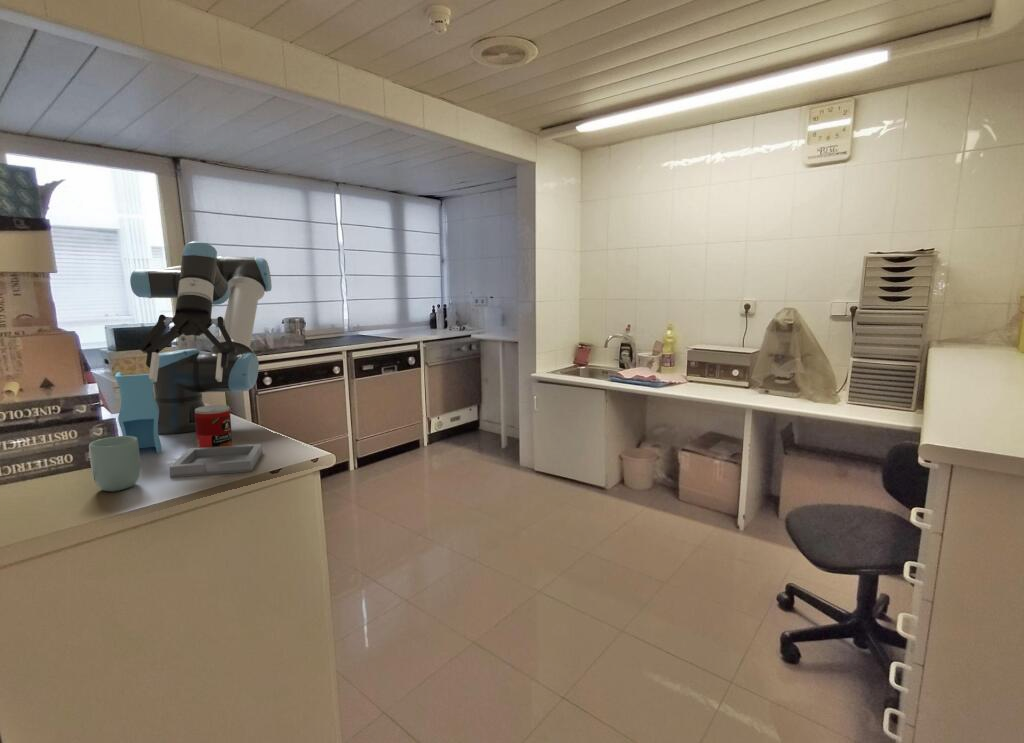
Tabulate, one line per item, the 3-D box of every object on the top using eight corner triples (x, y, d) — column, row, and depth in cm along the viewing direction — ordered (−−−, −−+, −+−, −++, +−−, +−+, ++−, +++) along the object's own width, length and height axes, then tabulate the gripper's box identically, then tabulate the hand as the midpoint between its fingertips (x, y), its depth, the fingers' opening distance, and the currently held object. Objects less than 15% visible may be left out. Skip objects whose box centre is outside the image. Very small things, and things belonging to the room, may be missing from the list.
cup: (103, 498, 97) (98, 449, 96) (87, 489, 101) (82, 442, 100) (148, 486, 104) (144, 439, 102) (132, 478, 108) (127, 433, 106)
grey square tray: (190, 457, 122) (189, 448, 121) (262, 452, 126) (261, 443, 126) (170, 477, 108) (169, 467, 108) (251, 471, 113) (250, 461, 113)
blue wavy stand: (162, 444, 132) (155, 370, 129) (161, 452, 125) (154, 374, 122) (124, 449, 127) (116, 372, 124) (122, 457, 121) (113, 376, 118)
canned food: (217, 455, 124) (214, 412, 122) (189, 452, 126) (186, 410, 124) (239, 446, 132) (237, 405, 130) (213, 444, 133) (210, 404, 131)
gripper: (130, 290, 118) (116, 375, 111) (247, 295, 125) (241, 375, 119) (142, 304, 124) (130, 385, 118) (252, 308, 132) (247, 384, 125)
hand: (186, 380), depth 118 cm, fingers open, 13 cm apart
